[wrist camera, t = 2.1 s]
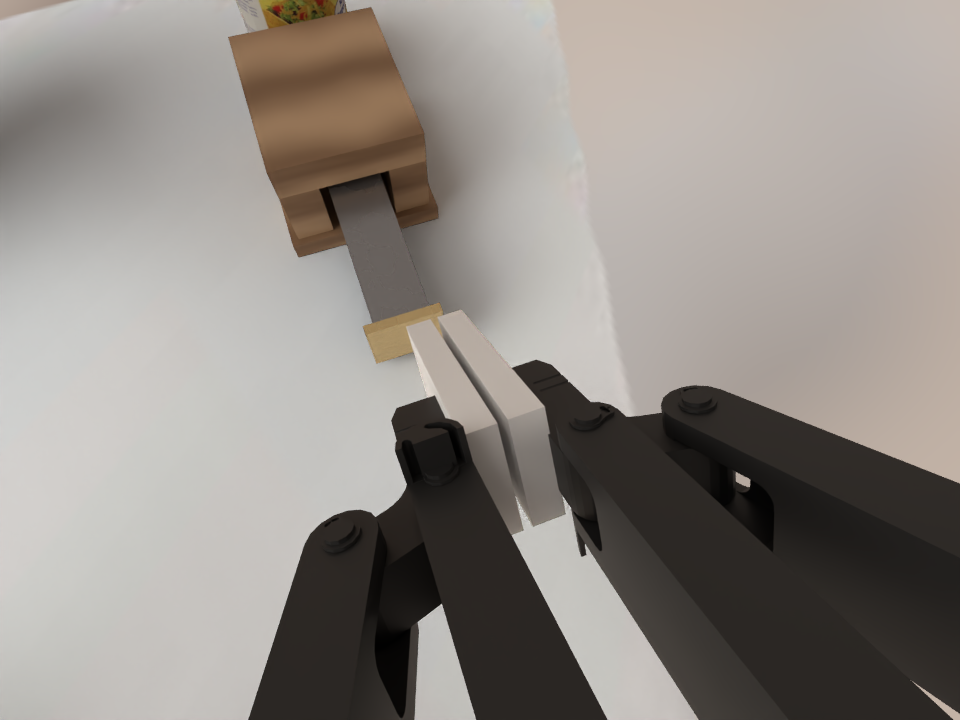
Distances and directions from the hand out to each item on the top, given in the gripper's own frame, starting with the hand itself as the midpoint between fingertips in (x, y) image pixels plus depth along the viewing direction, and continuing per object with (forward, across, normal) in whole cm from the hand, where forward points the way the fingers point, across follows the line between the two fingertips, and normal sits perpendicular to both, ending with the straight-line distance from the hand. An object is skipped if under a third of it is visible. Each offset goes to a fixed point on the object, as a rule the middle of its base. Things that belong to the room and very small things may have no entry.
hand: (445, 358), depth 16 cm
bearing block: (+32, 0, +4) cm, 32 cm away
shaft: (+26, 0, 0) cm, 26 cm away
